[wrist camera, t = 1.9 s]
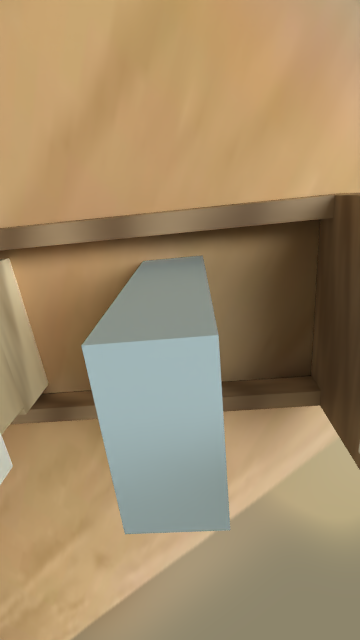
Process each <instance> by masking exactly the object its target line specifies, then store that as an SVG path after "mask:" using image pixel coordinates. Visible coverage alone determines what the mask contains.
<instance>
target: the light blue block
mask: <svg viewBox="0 0 360 640" xmlns="http://www.w3.org/2000/svg"><path fill="white" fill-rule="evenodd" d="M81 346H82V351H83V355H84V359H85V364H86V368H87V372H88V377H89V381H90V385H91V389H92V394H93V398H94V402H95V407H96V411H97V415H98V420H99V424H100V428H101V433H102V437H103V441H104V446H105V450H106V454H107V459H108V463H109V467H110V472H111V476H112V480H113V484H114V489H115V493H116V497H117V502H118V506H119V510H120V515H121V519H122V523H123V528H124V532H125V534H141V533H168V532H195V531H222V530H230V518H229V501H228V485H227V468H226V452H225V435H224V418H223V402H222V385H221V368H220V352H219V335H218V330H217V325H216V320H215V315H214V310H213V305H212V300H211V295H210V290H209V285H208V280H207V275H206V270H205V265H204V260H203V256H192V257H181V258H170V259H160V260H149V261H143V262H142V263H141V265H140V266H139V267H138V269H137V270H136V271H135V273H134V274H133V276H132V277H131V278H130V280H129V281H128V282H127V284H126V285H125V287H124V288H123V289H122V291H121V292H120V293H119V295H118V296H117V297H116V299H115V300H114V302H113V303H112V304H111V306H110V307H109V308H108V310H107V311H106V313H105V314H104V315H103V317H102V318H101V319H100V321H99V322H98V324H97V325H96V326H95V328H94V329H93V330H92V332H91V333H90V334H89V336H88V337H87V339H86V340H85V341H84V343H83V344H82V345H81Z"/></svg>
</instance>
